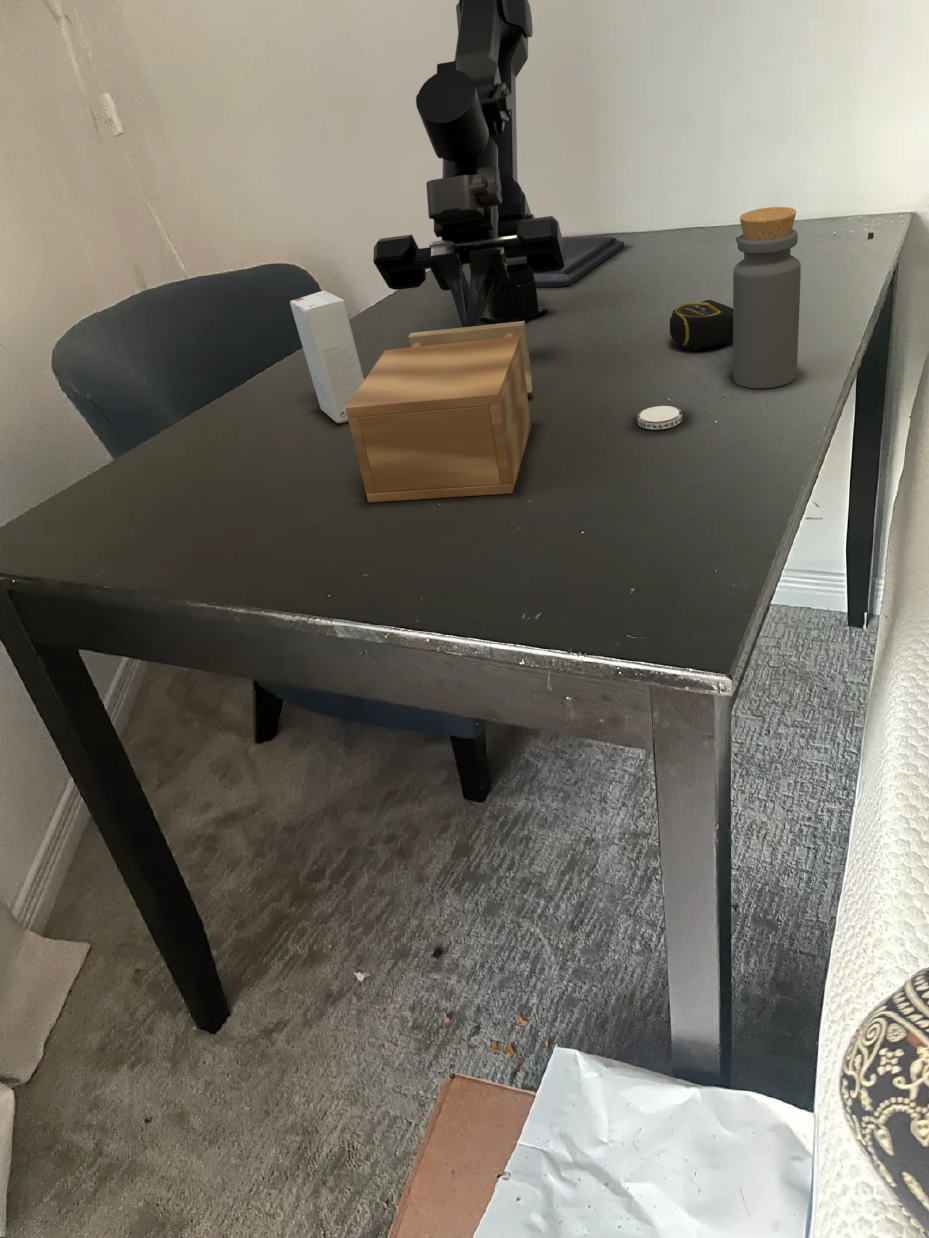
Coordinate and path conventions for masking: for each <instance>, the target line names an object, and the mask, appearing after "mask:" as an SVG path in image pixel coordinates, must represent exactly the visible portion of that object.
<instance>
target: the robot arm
mask: <svg viewBox="0 0 929 1238" xmlns="http://www.w3.org/2000/svg"><path fill="white" fill-rule="evenodd" d="M455 12H456V22H457V23H456V24H457V39H456V46H455V54H454V60H453V61H447V62H440V63H436V73H435V74H433V75H432V76H431V77H429V78H428V79H426V81H425V82H424V83H423V84H422V86H421V87H420V89H419V91H418V93H417V95H416V96H415V104H416V109H417V111H418V114H419V117H420V119H421V122H422V124H423V127H424V129H425V131H426V134H427V137H428V139H429V142H430V144H431V146H432V149H433V151H434V153H435V155H436V157H437V158H438V159H442V178H441V177H440V178H435V179H430V180H427V181H426V185H425V186H426V197H427V198H426V199H427V211H428V212H427V213H428V218H429V219H430V220H432V221H433V232H434V235H435V236H436V238H441V240H436V241H430V242H429V247H421V248H420V247H419V245H418V244H417V241H416V239H415V238H414V236H413V234H404V235H398V236H397V235H396V236H391V237H390V236H389V237H382V238H379V239H378V240H377V242H376V243H375V245H374V246H373V259H372V262H373V264H374V266H375V267H376V269H377V270H378V273H379V274H380V276H381V277H382V280H384V283H385V284H386V285H387V287H388V289H391V290H393V291H398V290H399V291H400V290H407V289H416V288H420V286H421V285H422V284H423V283H424V282H425V281H426V280H427V270H431V273H432V275H433V277H434V278H435V281H436V283H437V285H438V287H439V289H440V290H442V291H445V292H447V291H450V293H451V296H452V298H453V302H454V305H455V308H456V310H457V314H458V318H459V321H460V323H461V326H462V328H463V327H472V326H479V323H480V321H485V322H487V323H492V324H500V323H510V322H519V321H525V322H526V321H528V320H531V319H535V318H536V317H539V316H542V315H545V314H547V313H548V312H549V311H548V310H549V309H548V307H545V306H540V305H539V301H538V300H539V299H538V291H537V287H536V282H535V280H534V273H543V272H551V271H559V270H561V269H562V268H564V267H565V263H564V244H563V240H562V238H563V236H562V232H561V226H560V223H559V221H558V220H557V219H556V218H555V217H554V216H553V215H547V216H541V217H535V214H534V213H532V212H531V209H530V206H529V203H528V200H527V196H526V194H525V192H524V191H523V190H522V187H521V185H520V183H519V182H518V147H517V146H518V137H517V136H518V135H517V134H518V133H517V132H518V131H517V130H518V129H517V85H516V84H517V82H516V81H517V80H516V79H517V77H518V75H519V74H520V72H521V71H522V69H523V67H524V66H525V64H526V62H527V61H528V59H529V38H532V37H533V34H534V33H533V31H534V29H533V17H532V9H531V6H530V3H529V0H458V3H456V5H455ZM464 265H465V266H466V265H469V270H470V279H469V282H468V279H467V277H466V275H465V272H464V270H463V269H464ZM533 272H534V273H533ZM487 307H488V312H485V310H486V308H487ZM484 312H485V313H484Z"/></svg>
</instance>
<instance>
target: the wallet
mask: <svg viewBox="0 0 929 1238" xmlns="http://www.w3.org/2000/svg"><path fill="white" fill-rule="evenodd" d="M562 240H563V244H564V263H565V267H564V268H562V269H561V270H559V271H551V272H543V273H534V272H533V273H534V280H535V282H536V288H563V287H570V286H571V285H573V284H574V283H576V282H577V281H578V280H580V279H582V278H583V277H584V276H586V275H587V274H588V273H589V272H591V271H592V270H593V269H595V268H597V267H598V266H599V265H601V264H602V263H604V262H605V261H606V260H608V259H610V258H611V257H613V256H614V255H616V254H617V253H618V252H620V251H621V250H622V249H623V248H624V247H625V242H624V241H622V240H619V239H618V238H616V237H613V236H598V237H597V236H596V237H594V236H593V237H592V236H591V237H565V238H564V237H562Z"/></svg>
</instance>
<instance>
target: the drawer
mask: <svg viewBox="0 0 929 1238" xmlns="http://www.w3.org/2000/svg"><path fill="white" fill-rule="evenodd" d="M517 336H520V340H521V349H522V357H523V364H524V372H525V380H526V388H527V394H529V393H532V392H533V389H534V385H533V377H532V376H533V375H532V367H531V359H530V354H529V353H530V351H529V345H528V336H527V328H526V321H519V322H510V323H500V324H495V323H492V324H483V325H477V326H472V327H463V326H462V327H455V328H445V329H437V330H428V331H417V332H411V333H410V334H409V336H408V343H409V348H410V347H420V346H430V345H439V344H449V343H459V342H469V341H478V340H488V339H498V338H507V337H517Z"/></svg>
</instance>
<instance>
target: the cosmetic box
mask: <svg viewBox="0 0 929 1238" xmlns="http://www.w3.org/2000/svg"><path fill="white" fill-rule="evenodd" d="M289 304H290V307H291V312H292V315H293V319H294V322H295V326H296V329H297V331H298V332H297V333H298V335H299V339H300V343H301V345H302V350H303V353H304V356H305V360H306V364H307V367H308V370H309V374H310V377H311V380H312V384H313V387H314V390H315V393H316V394H315V395H316V397H317V401H318V404H319V405H318V406H319V408H320V411H322V412H323V413H325V415H327V416H328V417H329V418H331V419H332V420H333V421H334V422H335V423H336V424H343V423H347V422H348V417H347V413H346V409H345V407H346V406H347V404H348V403H349V402H350V400H351V399H352V397H353V396H354V394H355V393H356V392H357V390H358V389H359V387H360V386H361V384H362V383H363V382H364V380H365V378H364V374H363V370H362V366H361V362H360V358H359V354H358V350H357V346H356V341H355V339H354V336H353V335H354V334H353V330H352V327H351V323H350V319H349V316H348V312H347V307H346V302H345V300H344V299H342V298H341V297H338V296H336V295H334V294H332V293H330V292H329V291H327V290H321V291H318V292H314V293H311V294H308V295H305V296H301V297H298V298H295V299H292V300H290V301H289ZM348 423H349V422H348Z"/></svg>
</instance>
